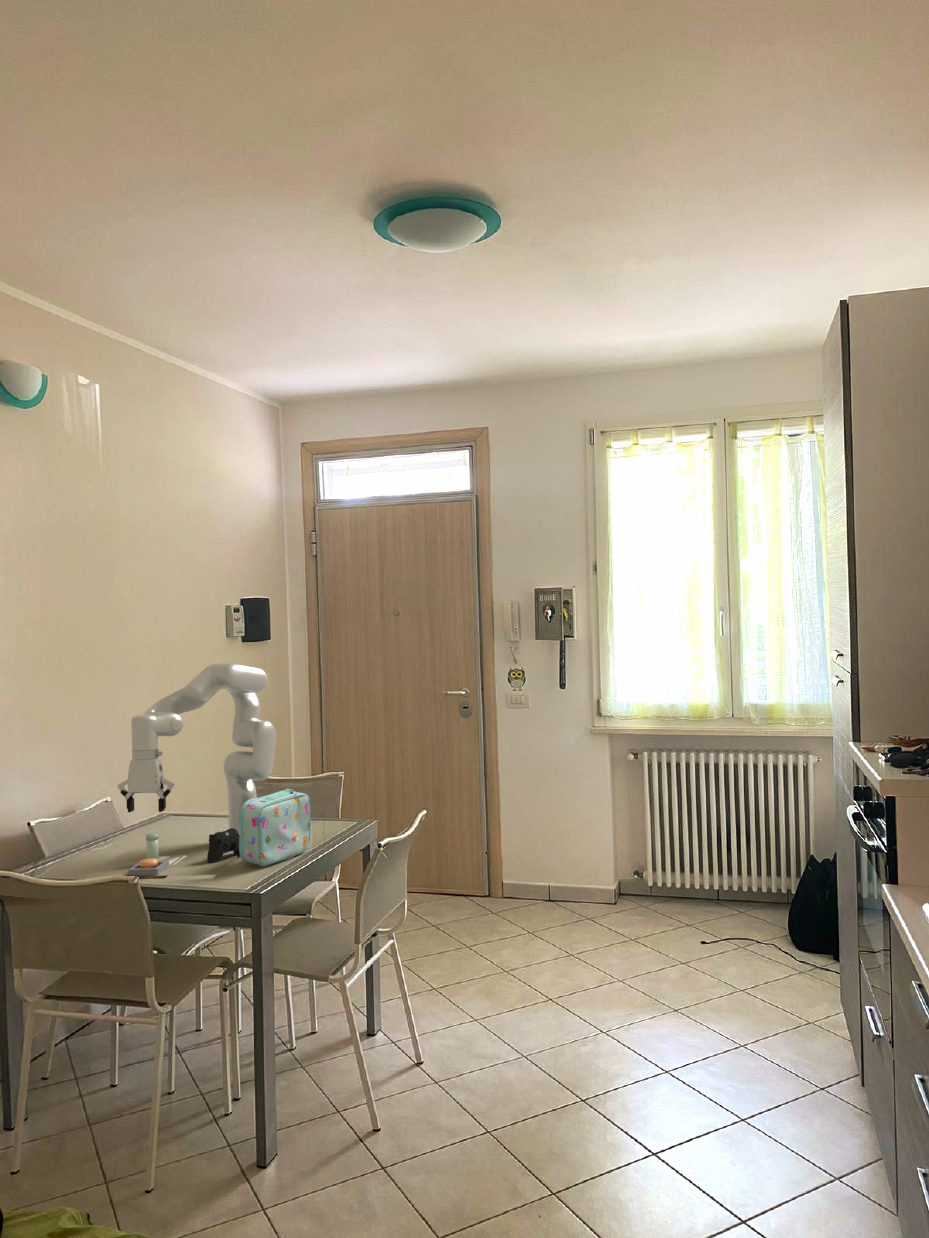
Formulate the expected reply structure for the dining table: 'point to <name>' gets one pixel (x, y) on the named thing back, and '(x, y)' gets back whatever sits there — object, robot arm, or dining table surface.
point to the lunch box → (274, 827)
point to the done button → (149, 863)
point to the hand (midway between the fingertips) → (146, 811)
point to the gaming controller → (223, 844)
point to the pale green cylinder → (152, 845)
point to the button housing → (149, 869)
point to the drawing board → (172, 861)
